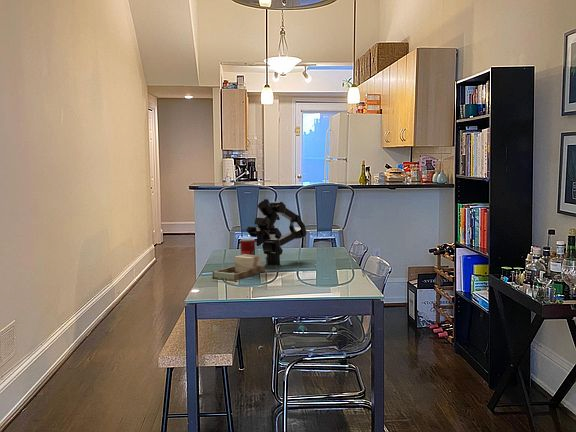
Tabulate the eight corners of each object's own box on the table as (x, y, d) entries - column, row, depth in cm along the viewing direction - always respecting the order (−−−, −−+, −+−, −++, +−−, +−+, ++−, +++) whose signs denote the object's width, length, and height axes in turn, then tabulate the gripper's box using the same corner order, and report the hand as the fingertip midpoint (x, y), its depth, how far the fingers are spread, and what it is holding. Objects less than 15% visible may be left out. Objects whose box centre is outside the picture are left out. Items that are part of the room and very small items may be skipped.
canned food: (253, 259, 316) (252, 240, 315) (239, 259, 318) (238, 240, 317) (256, 257, 324) (256, 238, 323) (243, 257, 325) (242, 238, 324)
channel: (242, 270, 286) (242, 263, 286) (265, 272, 279) (265, 265, 278) (212, 278, 267) (212, 271, 267) (235, 281, 260) (235, 274, 259)
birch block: (245, 268, 285) (244, 254, 284) (261, 270, 279) (260, 255, 279) (235, 271, 278) (234, 256, 277) (251, 273, 273) (251, 258, 272)
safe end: (225, 275, 275) (225, 268, 275) (248, 278, 268) (248, 270, 267) (212, 278, 267) (212, 271, 267) (235, 281, 260) (235, 274, 259)
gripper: (247, 210, 292) (235, 234, 284) (277, 212, 282) (265, 236, 274) (257, 224, 299) (245, 248, 291) (286, 225, 289) (275, 250, 281)
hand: (257, 245), depth 284 cm, fingers closed
